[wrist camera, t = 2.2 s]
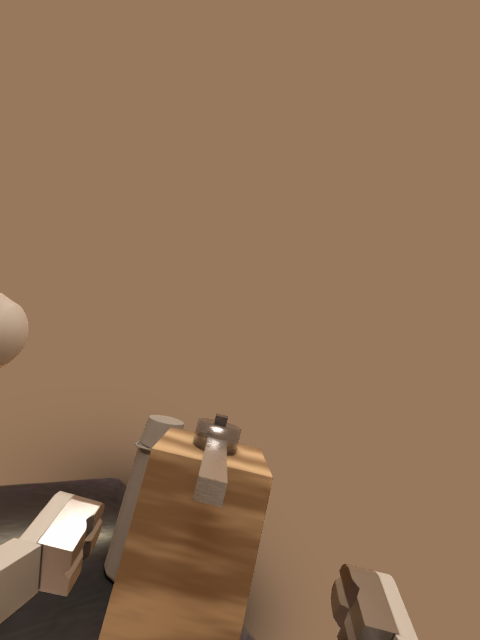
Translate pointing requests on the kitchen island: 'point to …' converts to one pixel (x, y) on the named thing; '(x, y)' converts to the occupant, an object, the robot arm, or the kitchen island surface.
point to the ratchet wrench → (214, 458)
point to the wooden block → (189, 548)
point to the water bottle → (136, 487)
